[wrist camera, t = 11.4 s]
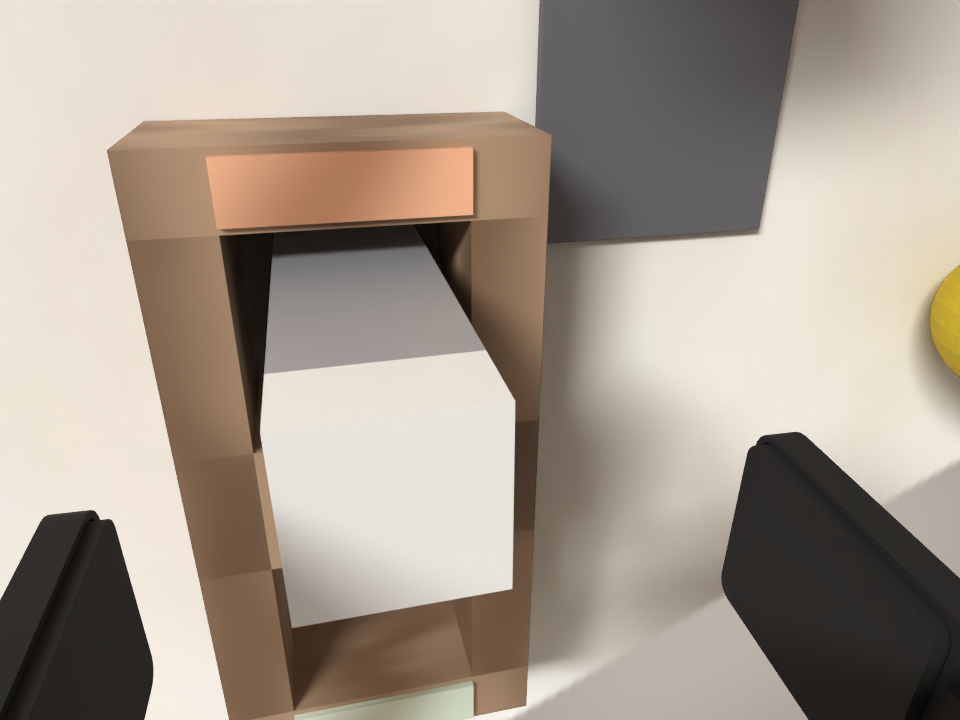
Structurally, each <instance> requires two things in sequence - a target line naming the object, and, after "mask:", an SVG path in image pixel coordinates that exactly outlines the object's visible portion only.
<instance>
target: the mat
mask: <svg viewBox="0 0 960 720" xmlns="http://www.w3.org/2000/svg"><path fill="white" fill-rule="evenodd" d="M798 2H799V0H540V9H539V38H538V66H537V95H536V123H535V127H536V128H538V129H540V130H542V131H544V132H546V133H548V134H551V135H552V138H551V160H550V182H549V205H548V227H547V243H558V242H573V241H588V240H603V239H618V238H633V237H648V236H663V235H678V234H693V233H708V232H723V231H738V230H753V229H759V226H760V220H761V214H762V208H763V203H764V197H765V191H766V185H767V180H768V174H769V168H770V163H771V157H772V151H773V145H774V140H775V134H776V128H777V122H778V117H779V111H780V105H781V99H782V94H783V88H784V82H785V76H786V71H787V65H788V59H789V54H790V48H791V42H792V36H793V31H794V25H795V19H796V13H797V8H798Z"/></svg>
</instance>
